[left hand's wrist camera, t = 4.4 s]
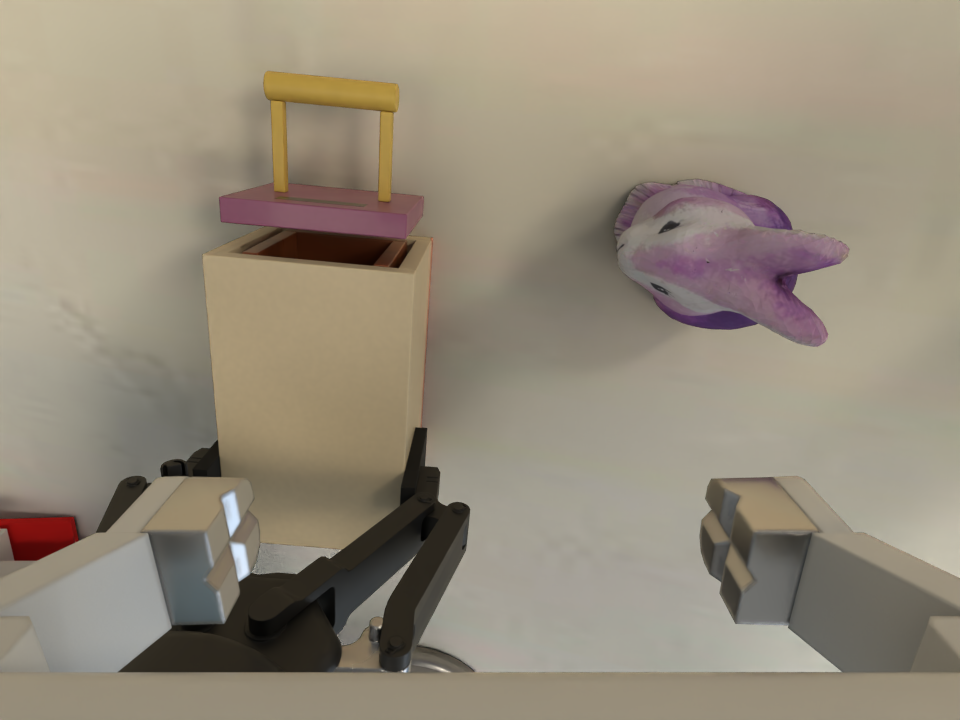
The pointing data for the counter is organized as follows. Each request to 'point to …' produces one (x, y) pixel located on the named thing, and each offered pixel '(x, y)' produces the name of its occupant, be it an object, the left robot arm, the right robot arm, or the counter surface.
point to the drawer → (328, 204)
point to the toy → (33, 540)
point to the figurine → (721, 258)
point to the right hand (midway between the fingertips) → (334, 439)
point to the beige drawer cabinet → (317, 384)
